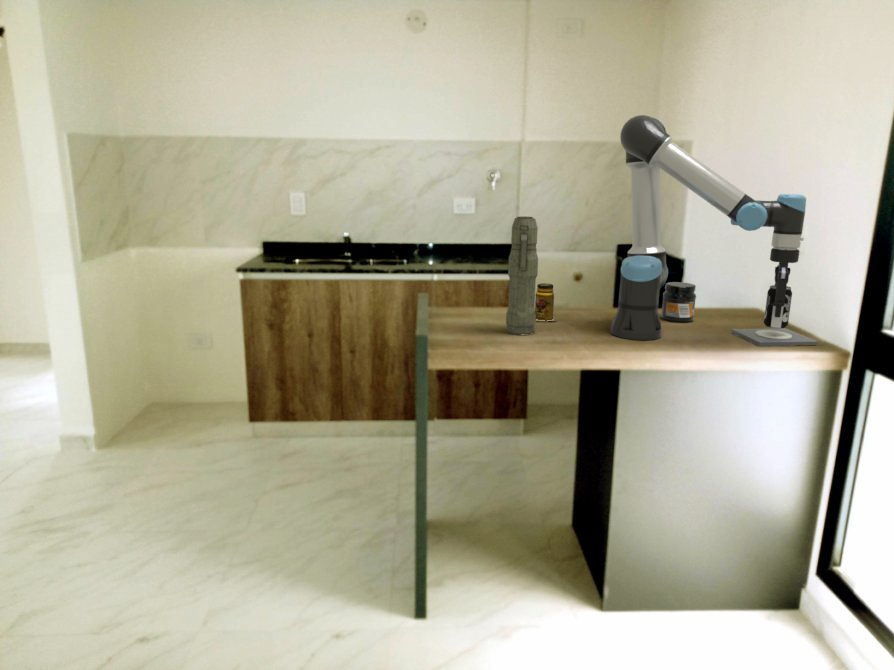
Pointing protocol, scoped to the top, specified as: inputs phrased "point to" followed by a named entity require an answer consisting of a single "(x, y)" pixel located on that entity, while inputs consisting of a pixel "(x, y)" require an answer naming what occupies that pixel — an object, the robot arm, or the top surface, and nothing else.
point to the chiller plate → (774, 337)
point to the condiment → (544, 302)
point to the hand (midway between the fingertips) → (775, 324)
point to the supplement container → (678, 302)
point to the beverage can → (769, 308)
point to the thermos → (522, 276)
